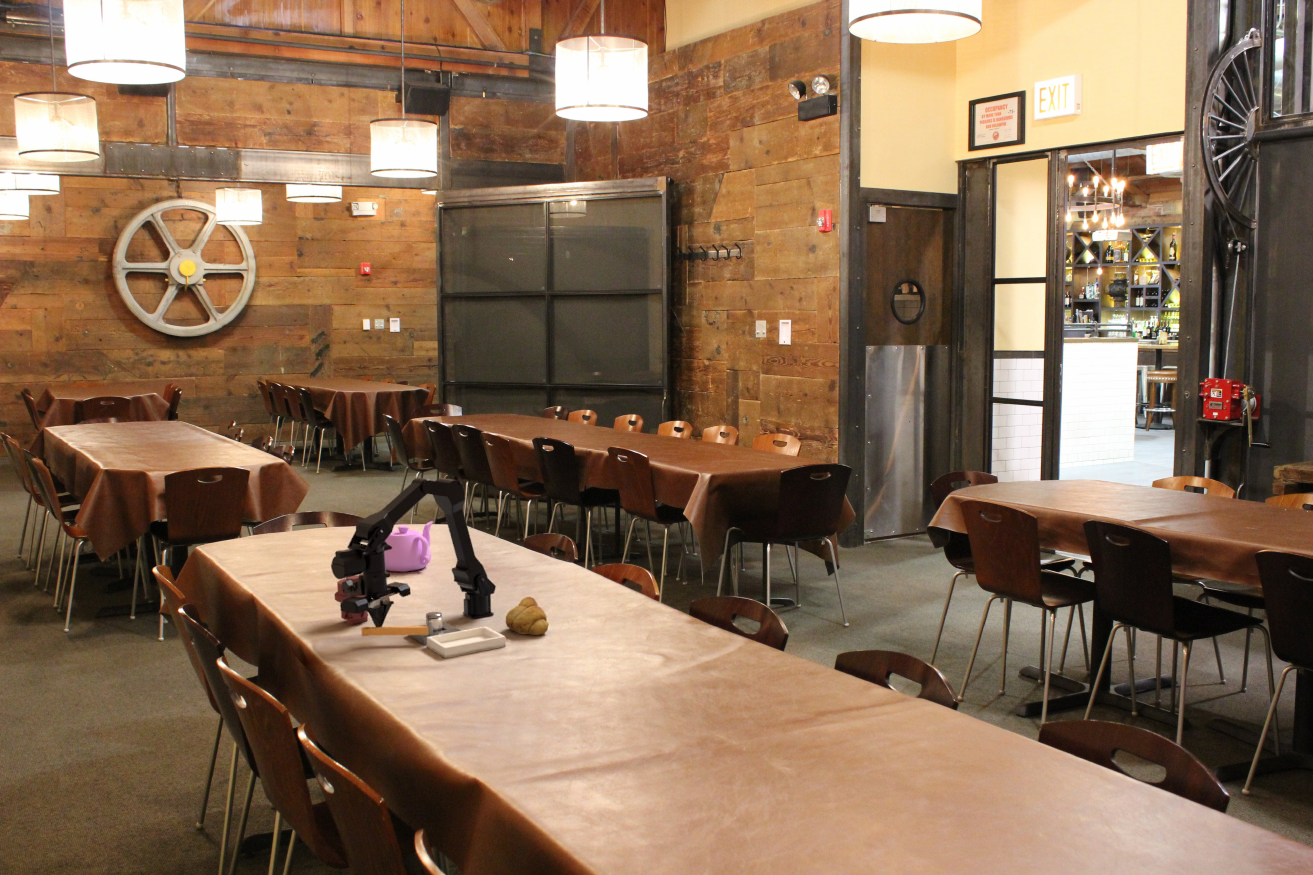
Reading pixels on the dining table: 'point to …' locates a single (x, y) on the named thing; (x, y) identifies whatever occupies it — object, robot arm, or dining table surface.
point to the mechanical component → (341, 596)
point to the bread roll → (527, 618)
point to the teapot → (408, 549)
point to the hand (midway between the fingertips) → (378, 630)
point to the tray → (465, 642)
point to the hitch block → (435, 633)
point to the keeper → (399, 630)
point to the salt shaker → (435, 620)
